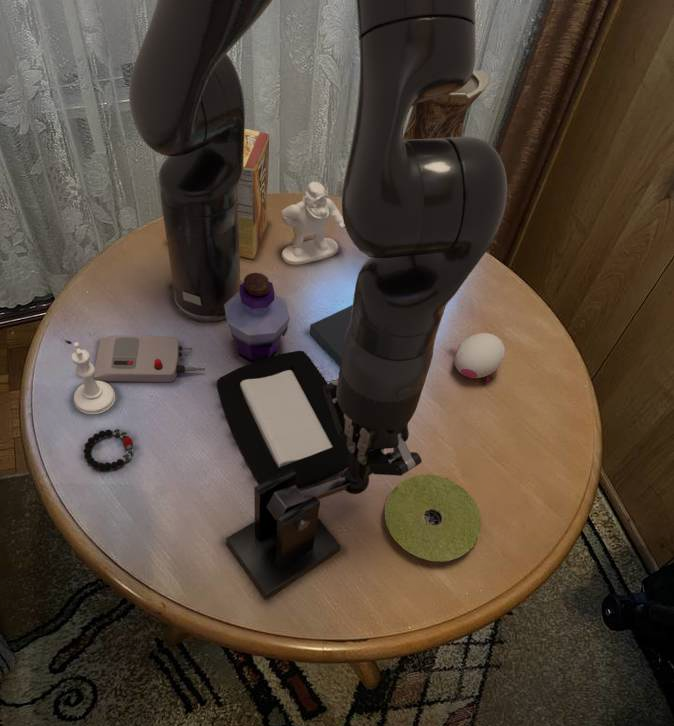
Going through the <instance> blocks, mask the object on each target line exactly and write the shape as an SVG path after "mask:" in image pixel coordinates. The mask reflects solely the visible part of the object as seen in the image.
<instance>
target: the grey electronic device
mask: <svg viewBox="0 0 674 726" xmlns="http://www.w3.org/2000/svg"><path fill="white" fill-rule="evenodd" d="M192 350H193V347H183V346H181V345H179V340H178V338H177V337H176V336H173V335H171V336H170V335H165V336H164V335H120V334H119V335H117V334H116V335H115V334H113V335H108V336H105V337H101V338H100V339H99V342H98V348H97V354H96V360H95V365H94V368H95V370H94V373H93V378H94V380H95V381H103V382H137V383H138V382H144V383H145V382H147V383H149V382H150V383H151V382H152V383H154V382H155V383H157V382H159V383H161V382H163V383H173V382H174V381H175V380H176V379H177V377H178V374H184V373H185V372H196V371H199V372H201V371H203V372H204V371H205V372H206V368H205V367H195V366H194V367H193V366H188V367H187V366H185V365H182V364H180V358H181V357H183V356H185V357H186V356H188V355H189V354H188V353H183V352H182V351H192ZM180 351H181V352H180Z"/></svg>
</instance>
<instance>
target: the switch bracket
mask: <svg viewBox="0 0 674 726" xmlns="http://www.w3.org/2000/svg"><path fill="white" fill-rule="evenodd" d="M296 477H297V473H296V472H295V470H294V469H293V468H292V467H289V468H288V469H286V470H284V471H282V472H281V473H279V474H277V475H275V476H274V477H272V478H270V479H268V480H266V481H265V482H263V483H261V484H258V485H256V486H254V487H253V494H254V498H253V500H254V504H253V505H254V521H253V522H251V523H250V524H248V525H247V526H245V527H243V528H241V529H240V530H238V531H236V532H234V533H233V534H231V535H229V536H228V537H226V538H225V542H226V543H225V544H226V545H227V546H228V547H229V549H230V551H231V552H232V553H233V555H234V556H235V558H236V559H237V560H238V562H239V563H240V565H241V566H242V567H243V569H244V570H245V572H246V573H247V575H248V576H249V577H250V579H251V581H253V583H254V585H255V586H256V588H257V589H258V590H259V592H260V593H261V594H262V596H263V597H264V599H265V600H267V599H269V598H270V597H272V596H274V595H275V594H277V593H278V592H280V591H281V590H282V589H284V588H286V587H287V586H289V585H290V584H292V583H294V582H295V581H296V580H298V579H300V578H301V577H302V576H304V575H306V574H307V573H309V572H310V571H312V570H313V569H315V568H316V567H318V566H320V565H321V564H323V563H324V562H326V561H327V560H328V559H330V558H332V557H334V555H336V554H338V553H339V552H340V551H341V549H342V545H340V543H339V542H338V541H337V539H336V538H335V537H334V535H333V534H332V533H331V531H329V529H328V528H327V527H326V526H325V524H324V523H323V521H321V519H320V518H319V513H320V507H321V502H320V499H319V500H318V499H317V498H316V497H315V496H313V497H312V498H310V499H308V500H307V501H305V502H303V503H302V504H300V505H298V506H297V507H295V508H293V509H291V510H290V511H288V512H286V513H285V514H283V515H281V516H280V517H278V519H277V521H276V520H275V518H274V517H273V516H272V514H271V513H270V512H269V510H268V509H267V508H266V506H267V505H268V503H269V501H270V499H271V497H272V495H273V493H274V492H276V491H279V490H282V489H285V488H288V487H291V486H294V485H295V486H296Z"/></svg>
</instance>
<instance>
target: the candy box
mask: <svg viewBox="0 0 674 726" xmlns="http://www.w3.org/2000/svg"><path fill="white" fill-rule="evenodd" d="M269 159H270V134H269V133H266V132H262V131H258V130H253V129H248V128H245V132H244V161H243V173H242V177H241V179H240V182H239V184H238V186H237V193H238V194H237V196H238V224H239V253H240V257H242V258H245V259H251V260H254V259H255V257H256V254H257V251H258V249H259V247H260V244H261V241H262V240H263V239H262V238H263V236H264V233H265V230H266V228H267V226H268V198H269V197H268V195H269V194H268V193H269V164H270V163H269V161H270V160H269Z"/></svg>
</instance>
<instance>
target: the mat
mask: <svg viewBox="0 0 674 726" xmlns="http://www.w3.org/2000/svg"><path fill="white" fill-rule="evenodd" d="M481 517H482V516H481V514H480V510H479V506H478V505H477V503H476V501H475V500H474V498H473V497H472V496H471V494H470V493H469V492H468V491H466V489H465V488H464V487H462V486H461V485H460V484H458V483H457V482H456V481H453V480H451V479H450V478H449V479H448V478H447V477H444V476H440V475H436V474H428V473H427V474H418V475H414V476H410V477H407V478H405V479H403V480H401V481H400V482H399V483H397V484H396V485H395V486H394V487H393V488H392V489H391V491H390V493H389V494H388V496H387V498H386V502H385V507H384V520H385V524H386V527H387V529H388V531H389V533H390V535H391V537H392V538H393V539H394V541H395V542H396V543H397V544H398V545H399V546H401V547H402V549H403V550H405V552H406V551H407V552H408V553H409V554H410V555H411V554H412V555H413V556H415V557H417V558H420V559H423V560H426V561H430V562H449V561H452V560H456V559H459V558H461V557H463V556H464V555H466V554H467V553H468V552H470V551H471V549H473V548H474V546H475V545H476V543H477V542H478V540H479V537H480V533H481V529H482V518H481Z"/></svg>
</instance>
